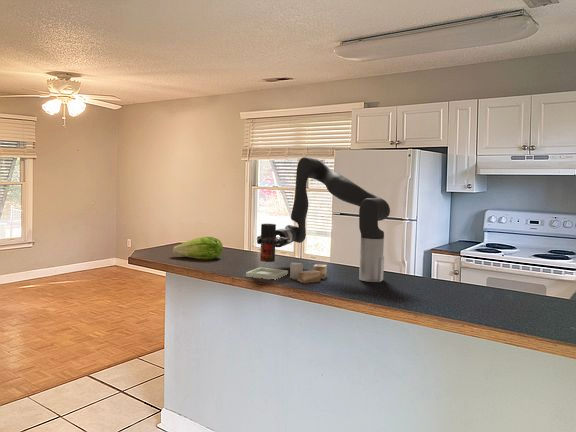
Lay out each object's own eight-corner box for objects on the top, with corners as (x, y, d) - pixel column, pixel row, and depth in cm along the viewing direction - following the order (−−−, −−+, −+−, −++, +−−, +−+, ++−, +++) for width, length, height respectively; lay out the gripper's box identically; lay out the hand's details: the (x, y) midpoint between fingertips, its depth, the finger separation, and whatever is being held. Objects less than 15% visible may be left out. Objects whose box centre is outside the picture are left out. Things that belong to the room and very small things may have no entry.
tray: (287, 274, 202) (287, 270, 202) (275, 280, 190) (275, 275, 190) (259, 271, 207) (259, 267, 207) (246, 276, 195) (246, 272, 195)
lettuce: (177, 244, 247) (171, 232, 236) (225, 243, 246) (221, 230, 235) (174, 265, 240) (168, 254, 230) (223, 264, 239) (219, 252, 229)
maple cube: (326, 276, 201) (326, 264, 200) (325, 279, 196) (325, 266, 196) (314, 276, 202) (314, 264, 201) (312, 278, 197) (313, 266, 196)
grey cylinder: (304, 278, 196) (304, 263, 196) (299, 280, 192) (299, 265, 192) (293, 276, 199) (293, 262, 198) (287, 278, 194) (288, 263, 194)
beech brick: (320, 281, 191) (320, 271, 190) (304, 283, 186) (304, 273, 186) (313, 280, 194) (313, 270, 194) (298, 282, 189) (298, 271, 189)
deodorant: (257, 260, 198) (258, 224, 197) (268, 258, 203) (269, 223, 201) (266, 262, 194) (268, 225, 193) (277, 261, 198) (278, 224, 197)
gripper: (266, 227, 213) (249, 231, 198) (297, 230, 208) (282, 234, 192) (266, 244, 214) (249, 249, 198) (296, 247, 209) (281, 252, 193)
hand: (265, 242), depth 195 cm, fingers closed on deodorant, 6 cm apart
